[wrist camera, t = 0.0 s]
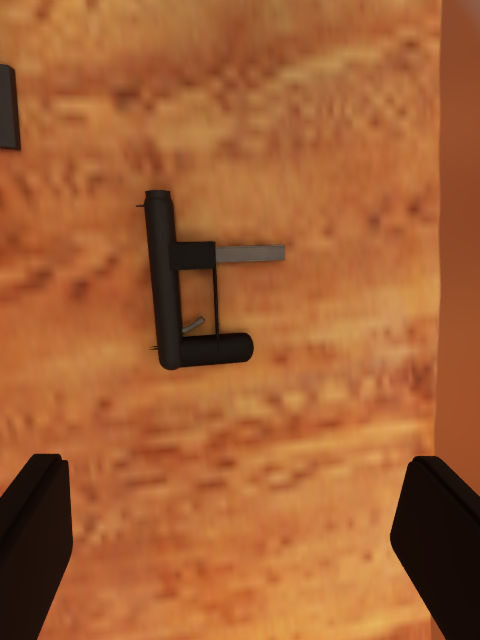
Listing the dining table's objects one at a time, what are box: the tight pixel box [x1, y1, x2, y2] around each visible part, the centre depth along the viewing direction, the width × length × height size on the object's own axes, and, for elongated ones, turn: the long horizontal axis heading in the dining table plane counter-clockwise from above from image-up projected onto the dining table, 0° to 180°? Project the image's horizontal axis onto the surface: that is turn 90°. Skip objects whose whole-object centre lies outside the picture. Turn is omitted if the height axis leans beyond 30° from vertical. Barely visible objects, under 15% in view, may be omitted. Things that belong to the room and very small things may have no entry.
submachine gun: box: [136, 190, 285, 370], centre depth 38 cm, size 3×20×16 cm
